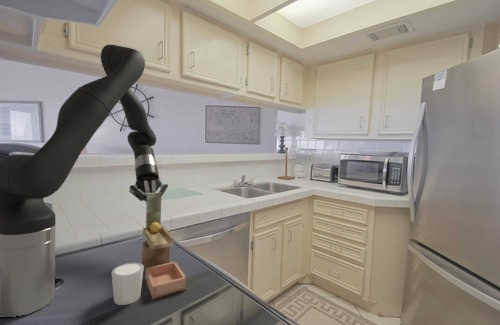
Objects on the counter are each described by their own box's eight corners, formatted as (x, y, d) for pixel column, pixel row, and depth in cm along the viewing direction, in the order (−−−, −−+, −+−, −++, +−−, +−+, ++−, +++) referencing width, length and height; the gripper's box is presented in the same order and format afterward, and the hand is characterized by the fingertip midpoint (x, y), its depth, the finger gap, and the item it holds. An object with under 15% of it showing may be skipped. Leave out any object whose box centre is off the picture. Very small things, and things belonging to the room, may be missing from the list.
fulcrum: (144, 271, 67) (145, 244, 67) (142, 264, 71) (142, 239, 71) (169, 265, 71) (169, 240, 71) (165, 259, 75) (166, 235, 75)
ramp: (151, 249, 62) (152, 202, 62) (142, 232, 74) (143, 193, 74) (173, 245, 66) (175, 200, 65) (161, 230, 78) (162, 192, 77)
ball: (150, 234, 70) (150, 224, 70) (148, 231, 73) (148, 221, 73) (161, 233, 72) (161, 223, 72) (159, 230, 75) (159, 220, 75)
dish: (152, 299, 55) (152, 287, 55) (144, 278, 63) (145, 268, 63) (186, 289, 60) (186, 277, 59) (175, 271, 68) (175, 261, 68)
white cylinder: (129, 309, 51) (130, 278, 51) (103, 303, 53) (104, 273, 52) (149, 291, 58) (150, 264, 58) (125, 287, 59) (126, 260, 59)
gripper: (127, 162, 80) (131, 205, 70) (166, 163, 87) (175, 201, 77) (125, 176, 84) (128, 217, 75) (163, 175, 92) (170, 213, 82)
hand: (152, 209), depth 76 cm, fingers closed
